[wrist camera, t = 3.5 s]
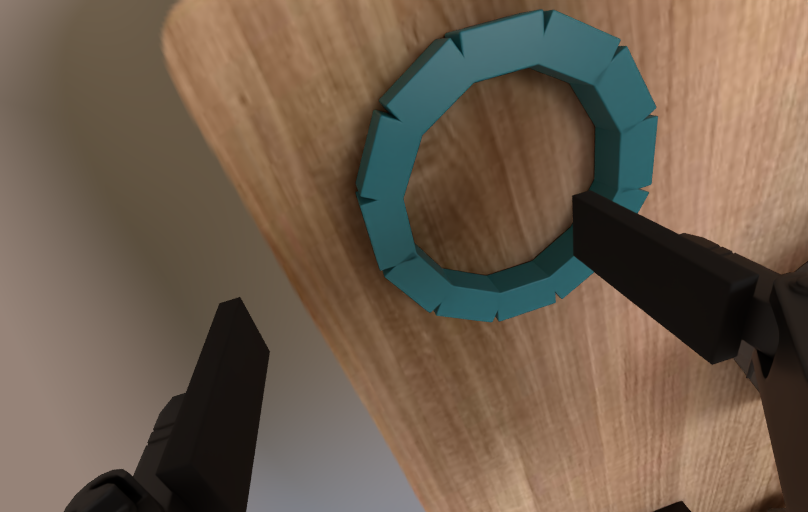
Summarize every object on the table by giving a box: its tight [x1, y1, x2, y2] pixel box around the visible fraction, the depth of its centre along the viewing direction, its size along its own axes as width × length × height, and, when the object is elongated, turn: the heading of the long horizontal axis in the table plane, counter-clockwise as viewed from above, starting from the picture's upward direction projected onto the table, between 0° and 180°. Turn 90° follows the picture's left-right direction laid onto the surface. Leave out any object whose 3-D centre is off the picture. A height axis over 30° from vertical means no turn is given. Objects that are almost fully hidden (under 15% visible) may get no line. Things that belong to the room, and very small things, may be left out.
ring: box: [356, 9, 658, 322], centre depth 20 cm, size 15×15×2 cm
